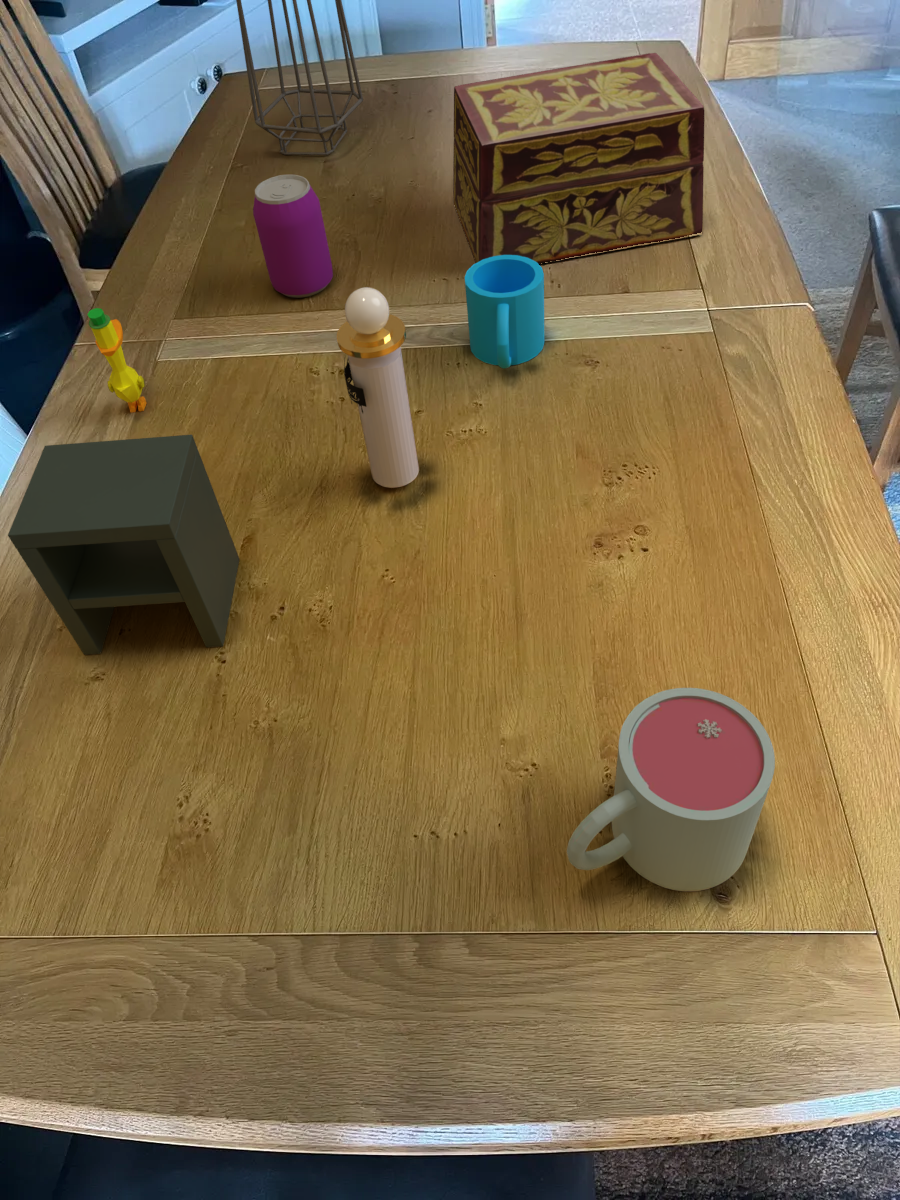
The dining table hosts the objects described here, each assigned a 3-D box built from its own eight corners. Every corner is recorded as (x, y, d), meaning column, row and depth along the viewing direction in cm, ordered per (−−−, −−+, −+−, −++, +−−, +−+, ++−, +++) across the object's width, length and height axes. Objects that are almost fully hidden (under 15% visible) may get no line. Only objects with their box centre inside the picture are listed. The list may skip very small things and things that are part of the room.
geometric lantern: (290, 118, 146) (230, -166, 120) (383, 123, 142) (343, -170, 115) (245, 165, 137) (170, -132, 110) (344, 171, 133) (291, -135, 106)
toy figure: (124, 389, 103) (82, 291, 94) (156, 383, 103) (117, 286, 94) (119, 427, 99) (74, 329, 90) (152, 421, 99) (111, 323, 90)
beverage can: (289, 264, 117) (266, 168, 108) (344, 270, 115) (326, 173, 106) (261, 297, 113) (235, 201, 104) (319, 304, 111) (297, 207, 102)
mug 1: (472, 323, 105) (466, 256, 99) (544, 320, 105) (544, 253, 98) (465, 389, 98) (459, 321, 92) (544, 387, 97) (543, 318, 91)
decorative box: (654, 168, 125) (663, 46, 114) (703, 236, 113) (719, 107, 102) (452, 204, 124) (441, 83, 112) (480, 276, 112) (471, 149, 100)
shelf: (83, 655, 79) (7, 535, 68) (110, 567, 85) (44, 445, 74) (223, 646, 78) (168, 524, 67) (239, 558, 85) (192, 434, 74)
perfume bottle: (414, 450, 92) (386, 264, 77) (434, 486, 89) (409, 298, 73) (359, 468, 91) (319, 283, 76) (377, 505, 88) (339, 318, 72)
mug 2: (691, 746, 68) (708, 665, 61) (778, 849, 63) (808, 773, 55) (530, 835, 65) (526, 761, 57) (606, 952, 59) (614, 887, 52)
